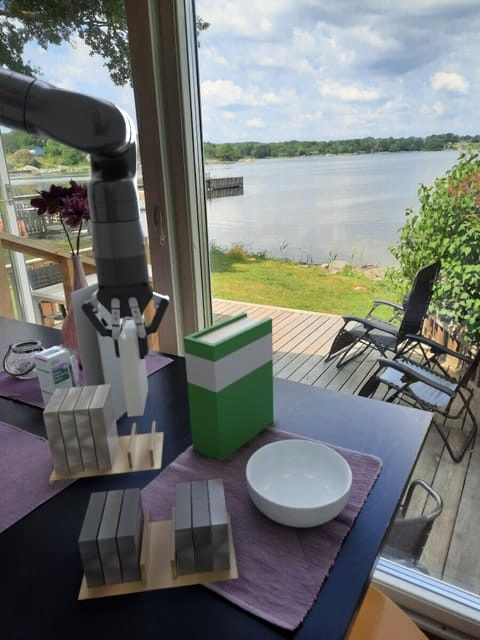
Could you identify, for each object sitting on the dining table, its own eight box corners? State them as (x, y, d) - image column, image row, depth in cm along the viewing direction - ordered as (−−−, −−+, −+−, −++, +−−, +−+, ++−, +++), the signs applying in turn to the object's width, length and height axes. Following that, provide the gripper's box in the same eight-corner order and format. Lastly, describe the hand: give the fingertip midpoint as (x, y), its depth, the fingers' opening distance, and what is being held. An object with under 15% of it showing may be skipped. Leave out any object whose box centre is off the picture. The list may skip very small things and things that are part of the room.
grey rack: (79, 605, 57) (67, 552, 55) (95, 533, 69) (87, 486, 66) (238, 583, 60) (236, 531, 57) (229, 517, 71) (227, 471, 68)
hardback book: (247, 411, 102) (243, 312, 94) (273, 421, 97) (272, 318, 89) (193, 448, 89) (183, 337, 81) (220, 462, 84) (213, 346, 76)
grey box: (112, 424, 98) (92, 295, 88) (91, 421, 100) (69, 293, 90) (144, 394, 111) (131, 278, 101) (125, 391, 112) (110, 277, 102)
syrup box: (59, 415, 103) (48, 358, 98) (44, 408, 106) (32, 353, 101) (79, 404, 107) (70, 349, 102) (64, 398, 110) (54, 344, 106)
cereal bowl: (244, 544, 66) (243, 506, 63) (248, 471, 81) (247, 438, 79) (360, 546, 65) (362, 507, 62) (341, 471, 80) (342, 438, 78)
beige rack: (49, 485, 80) (35, 417, 75) (66, 445, 91) (54, 385, 86) (161, 472, 82) (153, 406, 77) (163, 436, 93) (157, 376, 89)
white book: (127, 417, 69) (117, 339, 65) (134, 389, 78) (126, 320, 73) (143, 415, 69) (134, 338, 65) (148, 388, 78) (140, 319, 73)
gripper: (168, 244, 69) (177, 346, 75) (78, 249, 68) (93, 352, 74) (166, 253, 62) (176, 364, 68) (65, 258, 61) (83, 371, 67)
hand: (133, 357), depth 71 cm, fingers closed on white book, 2 cm apart
